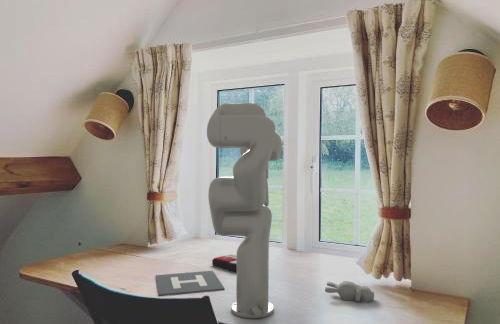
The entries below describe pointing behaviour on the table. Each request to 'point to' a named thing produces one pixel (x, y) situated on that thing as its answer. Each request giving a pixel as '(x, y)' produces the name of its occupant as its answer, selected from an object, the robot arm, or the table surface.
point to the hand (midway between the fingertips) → (258, 223)
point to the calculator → (226, 262)
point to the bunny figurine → (351, 291)
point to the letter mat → (188, 283)
